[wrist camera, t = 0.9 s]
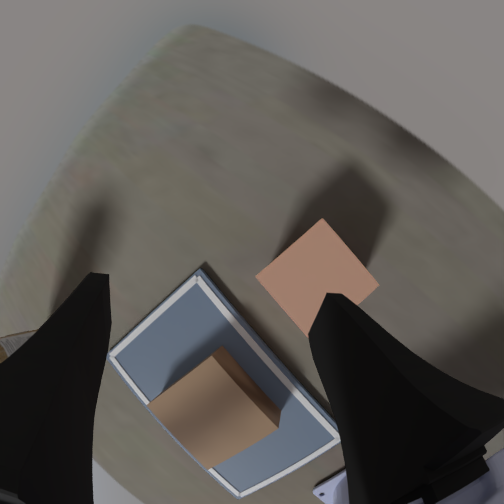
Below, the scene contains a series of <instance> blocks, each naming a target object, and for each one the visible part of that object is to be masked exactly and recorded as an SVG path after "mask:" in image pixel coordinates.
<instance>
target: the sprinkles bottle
mask: <svg viewBox="0 0 504 504" xmlns="http://www.w3.org/2000/svg"><path fill="white" fill-rule="evenodd" d="M37 330H38V329H37ZM37 330H32V331H24V332H20V333H15V334H11V335H7V336H5V337H1V338H0V363H2V362H3V361H4V360H5V359H7V358H8V357H9V356H10V355H11V354H13V353H14V352H15V351H16V350H17V349H18V348H19V347H21V346H22V345H23V344H24V343H25V342H26V341H27V340H28V339H29V338H30V337H31V336H32V335H33V334H34V333H35V332H36V331H37Z"/></svg>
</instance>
